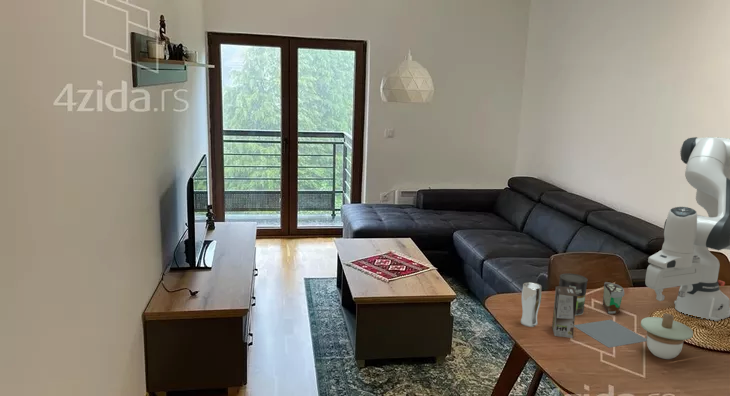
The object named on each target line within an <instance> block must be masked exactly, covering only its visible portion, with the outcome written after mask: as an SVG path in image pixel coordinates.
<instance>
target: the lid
mask: <svg viewBox="0 0 730 396" xmlns="http://www.w3.org/2000/svg"><path fill="white" fill-rule="evenodd" d="M662 315H663V316H662V317H659V316H658V317H657V316H648V317H644V318H642V319H641V321H640V326H641V328H643V330H645V331H646V332H647V331H648V332H650V333H652V334H654V335H657V336H660V337H664V338H668V339H674V340H684V341H686V340H687V341H688V340H690V339H692V338H693V336H694V331H693V329H691V327H689V326H688V325H686V324H684V323H682V322H680V321H676V320H674V318H675V316H674V315H673V314H671V313H665V312H664V313H662Z"/></svg>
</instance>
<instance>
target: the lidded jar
mask: <svg viewBox="0 0 730 396" xmlns="http://www.w3.org/2000/svg"><path fill="white" fill-rule="evenodd" d="M646 339H647V341H646V346H647V348H648V351H650V352H651V354H652V355H653V356H655V357H657V358H659V359H664V360H672V359H674V358H677V356H679V355H680V353H681V352H682V349H683V345H684V342H685V340H674V339H668V338H664V337H660V336H657V335H654V334H652V333H650V332H648V331H646Z"/></svg>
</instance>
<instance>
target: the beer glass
mask: <svg viewBox="0 0 730 396" xmlns="http://www.w3.org/2000/svg"><path fill="white" fill-rule="evenodd" d="M542 287H543V286H542V285H541V284H539V283H536V282H524V283H523V284H522V290H521V306H522V307H521V309H522V313H521V315H522V316H521V319H520V323H521V325H523V326H524V327H530V328H533V327H536V326H537V325H538V313H539V310H540V306H541V302H542Z"/></svg>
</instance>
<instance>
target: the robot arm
mask: <svg viewBox="0 0 730 396" xmlns="http://www.w3.org/2000/svg"><path fill="white" fill-rule="evenodd" d="M679 155H680V160H681V161H682V162H683V163H684V164H686V167H685V171H684V176H685V180H686V181H687V182H688V184H689V185H690V186H691V187H692V188H694V189H696V192H695V201H696V203H697V204H698V205H699V206H700V207H701V208H702V209H704V211H706V213H707V215H708V216H706V215H701V214H698V213H697V211H696V210H695V209H693V208H691V207H688V206H675V207H672V208H671V209H670V210H669V212H668V214H667V217H666V219H665V222H664V225H663V237H664V241H663V243H662V247H661V250H659V251H658V252H655V253H654V254H652V255H650V256H649V257H648V258H647V259H648V260H647V262H648V263H649V264H648V266H647V268H646V272H645V281H644V282H645V286H646V287H647V288H649V289H652V290H654V293H655V295H656V297H655V299H656V300H657V301H658V302H663V301H665V295H664V294H663V292H664V290H665V289H670V288H676V287H679V290H678V293H677V296H676V300H675V299H674V301H673V302H674V308H675V310H676V311H677V312H679V313H681V312H682V313H681V314H683V313H684V315H686V314H688V315H687V316H689V315H693V316H697V317H701V318H700V319H703V318H706V319H705V320H709V319H710V320H709V321H713V320H714V322H719V321H721V319H722V320H724V319H727V318H729V317H730V298H729V297H728V295H726V294H725V293H724V292H722V290H721V289H720V286H721V287H725V285H726V281H723V280H721V279H718V278H719V273H720V266H721V265H720V260H719V259H718V258H717V257H716V256H715V255H714V254H713V253H711V252H710V250H709V249H712V250H716V251H721V250H730V138H728V137H719V136H718V137H713V136H712V137H711V136H710V137H709V136H708V137H697V136H695V137H694V136H693V137H688V138H687V139H685V140H684V141H683V142H682V144H681V146H680V151H679Z"/></svg>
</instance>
